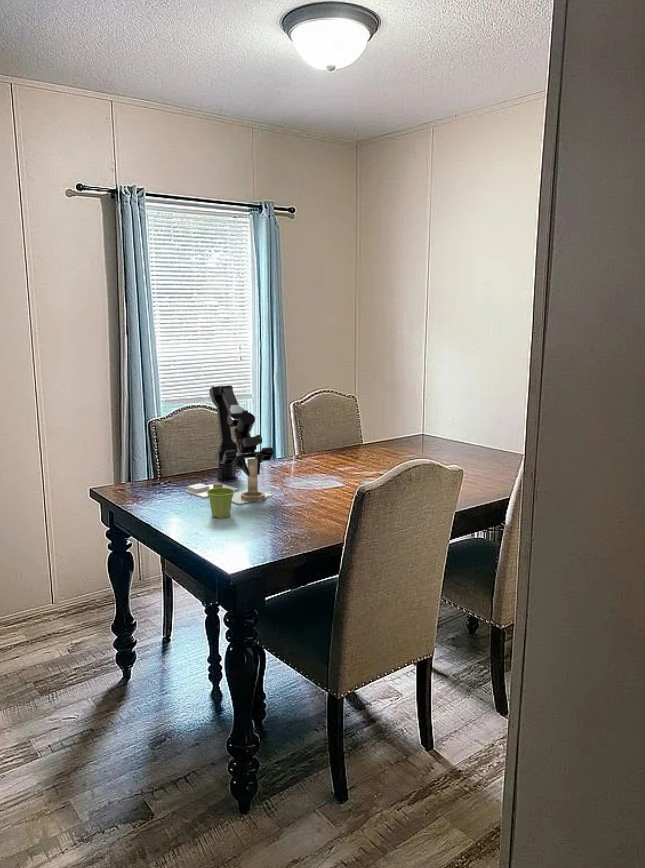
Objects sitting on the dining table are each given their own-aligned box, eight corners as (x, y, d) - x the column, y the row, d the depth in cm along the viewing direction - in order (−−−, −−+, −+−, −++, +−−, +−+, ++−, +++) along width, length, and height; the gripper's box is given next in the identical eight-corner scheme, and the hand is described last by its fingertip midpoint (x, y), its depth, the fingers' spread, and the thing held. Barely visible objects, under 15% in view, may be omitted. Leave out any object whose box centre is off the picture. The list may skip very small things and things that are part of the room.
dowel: (249, 489, 251) (249, 458, 249) (258, 490, 250) (258, 459, 248) (246, 492, 248) (246, 460, 245) (255, 493, 247) (255, 461, 245)
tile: (218, 484, 270) (218, 475, 270) (237, 490, 262) (237, 481, 261) (185, 491, 259) (185, 482, 258) (204, 498, 251) (203, 488, 250)
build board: (252, 490, 262) (252, 484, 262) (276, 497, 252) (276, 492, 252) (219, 498, 251) (219, 492, 250) (243, 506, 241) (243, 500, 241)
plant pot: (231, 510, 237) (230, 486, 235) (237, 518, 228) (237, 493, 226) (204, 513, 233) (204, 488, 232) (210, 521, 225) (209, 496, 223)
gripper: (224, 429, 244) (233, 465, 237) (272, 425, 252) (283, 460, 244) (218, 446, 253) (227, 481, 245) (265, 442, 261) (275, 476, 253)
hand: (253, 474), depth 247 cm, fingers closed on dowel, 4 cm apart
